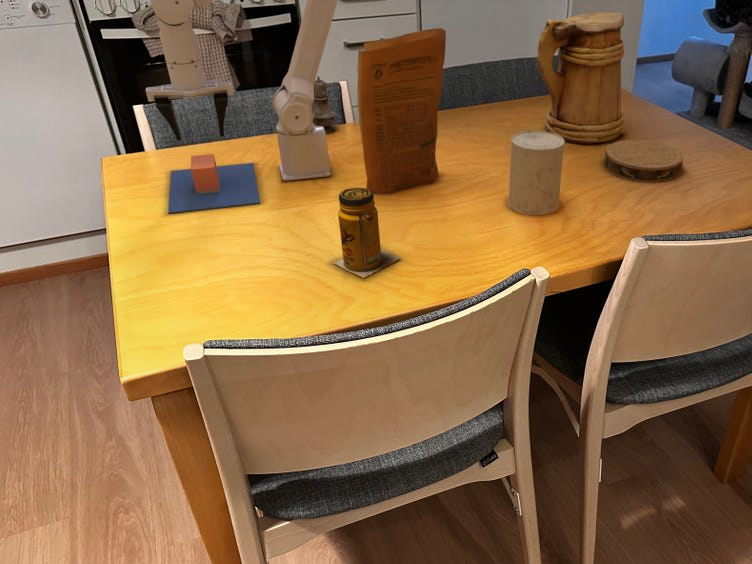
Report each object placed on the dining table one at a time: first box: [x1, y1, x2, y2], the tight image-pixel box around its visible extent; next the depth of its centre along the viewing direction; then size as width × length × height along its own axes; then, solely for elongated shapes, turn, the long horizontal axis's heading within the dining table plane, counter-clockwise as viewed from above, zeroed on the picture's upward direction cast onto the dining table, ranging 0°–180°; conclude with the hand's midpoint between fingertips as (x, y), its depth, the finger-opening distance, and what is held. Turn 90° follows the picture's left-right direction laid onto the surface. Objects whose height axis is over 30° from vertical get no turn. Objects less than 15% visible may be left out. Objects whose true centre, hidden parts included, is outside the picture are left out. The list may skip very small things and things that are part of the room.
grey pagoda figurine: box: [312, 75, 337, 134], centre depth 158 cm, size 6×6×12 cm
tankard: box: [537, 11, 626, 145], centre depth 155 cm, size 18×24×25 cm
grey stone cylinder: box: [507, 130, 566, 216], centre depth 127 cm, size 10×10×12 cm
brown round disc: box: [603, 139, 684, 183], centre depth 146 cm, size 16×16×3 cm
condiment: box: [332, 187, 402, 279], centre depth 109 cm, size 7×8×12 cm
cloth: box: [167, 162, 261, 215], centre depth 134 cm, size 16×20×1 cm
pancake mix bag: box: [356, 27, 447, 195], centre depth 129 cm, size 7×19×28 cm, turn 125°
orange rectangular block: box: [190, 153, 220, 195], centre depth 133 cm, size 4×7×5 cm, turn 18°
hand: (200, 136), depth 130 cm, fingers open, 7 cm apart
